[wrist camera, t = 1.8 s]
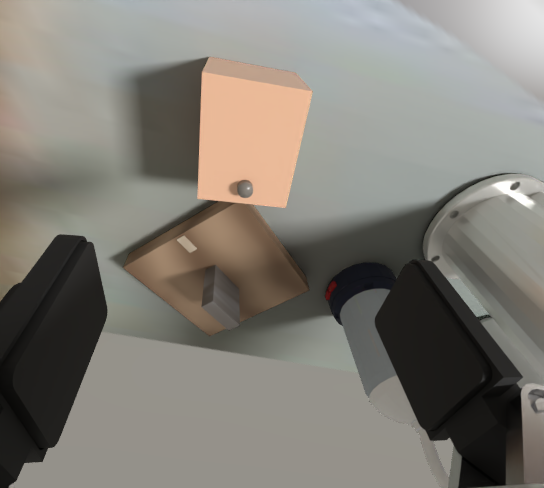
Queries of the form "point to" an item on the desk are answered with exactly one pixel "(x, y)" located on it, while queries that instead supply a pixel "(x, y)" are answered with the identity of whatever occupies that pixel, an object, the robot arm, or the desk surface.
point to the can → (512, 353)
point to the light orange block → (249, 132)
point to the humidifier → (376, 347)
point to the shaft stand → (219, 267)
